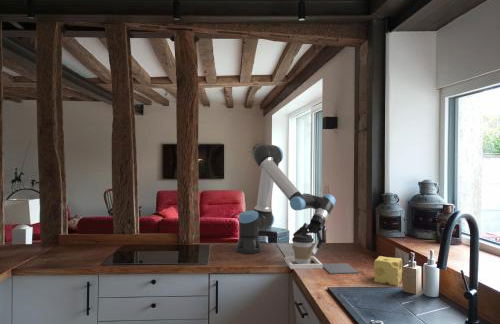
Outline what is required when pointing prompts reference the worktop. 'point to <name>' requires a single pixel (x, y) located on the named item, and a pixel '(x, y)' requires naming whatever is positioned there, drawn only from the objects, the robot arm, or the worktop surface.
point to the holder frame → (303, 266)
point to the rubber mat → (339, 268)
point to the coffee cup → (302, 248)
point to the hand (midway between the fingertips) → (302, 250)
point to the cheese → (388, 270)
